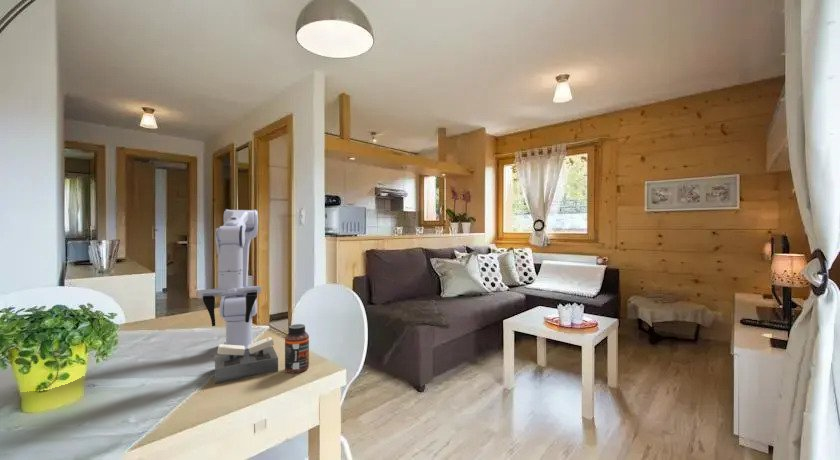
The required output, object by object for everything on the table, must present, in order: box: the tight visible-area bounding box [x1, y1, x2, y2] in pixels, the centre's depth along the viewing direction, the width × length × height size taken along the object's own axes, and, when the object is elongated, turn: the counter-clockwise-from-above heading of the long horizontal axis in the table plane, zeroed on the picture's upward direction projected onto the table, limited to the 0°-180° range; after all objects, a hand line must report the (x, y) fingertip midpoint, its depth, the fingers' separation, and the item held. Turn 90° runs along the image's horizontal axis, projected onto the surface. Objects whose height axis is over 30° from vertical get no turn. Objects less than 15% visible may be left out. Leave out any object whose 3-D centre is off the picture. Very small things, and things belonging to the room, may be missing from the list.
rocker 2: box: [247, 335, 275, 354], centre depth 95 cm, size 3×6×2 cm, turn 120°
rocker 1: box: [217, 343, 246, 355], centre depth 92 cm, size 3×6×2 cm, turn 120°
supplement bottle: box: [284, 323, 310, 374], centre depth 92 cm, size 6×6×11 cm
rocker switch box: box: [214, 345, 279, 385], centre depth 92 cm, size 10×14×4 cm
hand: (230, 323), depth 92 cm, fingers open, 7 cm apart
